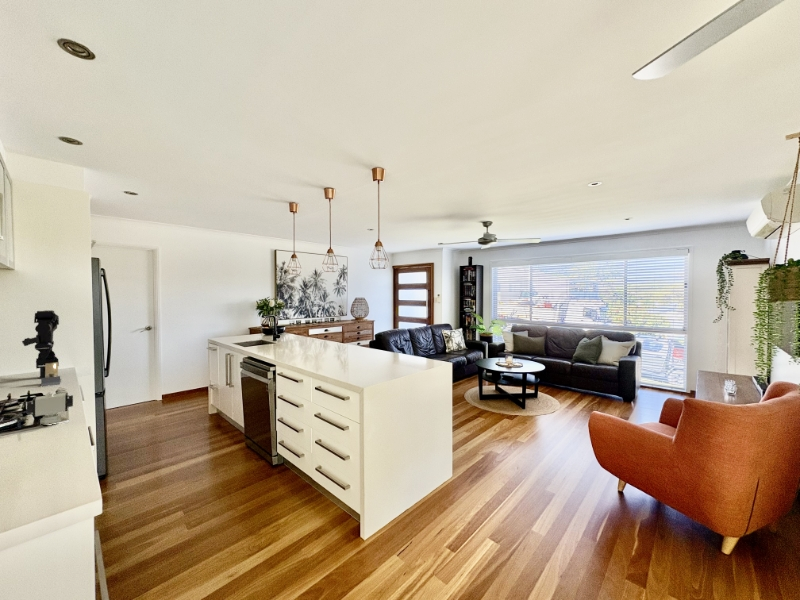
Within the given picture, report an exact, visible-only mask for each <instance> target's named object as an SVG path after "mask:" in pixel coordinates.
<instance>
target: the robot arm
mask: <svg viewBox="0 0 800 600" xmlns="http://www.w3.org/2000/svg"><path fill="white" fill-rule="evenodd" d="M33 321H34V322H33V323H34V324H37V325H36V326H35V327H34V328H35V331H36V333H37V334H36V335H35V337H31V338H30V337H27V338H26V337H25V338H24V340H22V341H21V342H22V345H23V346H24V347H27V346H30V345H33V344H35V345H34V349H35V351H38V352H39V353H38V354H37V358H36V359H35V363H36V364H35V367H36V370H37V369H39V376H38V378H40V379H41V378H45V364H46V363H54V362H58V367H59V358H58V356H56V353H55V352H54V350H53V348H54V345H55V342H54V332H55V331H56V330H57V329H58V325H60V317H59V315H58V314H56V313H55V310H37V311H36V312H34V320H33Z"/></svg>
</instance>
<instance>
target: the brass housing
mask: <svg viewBox="0 0 800 600" xmlns="http://www.w3.org/2000/svg"><path fill="white" fill-rule="evenodd" d="M44 366H45V378H46V377H55V376H59V366H58V362H54V363H46V364H45V365H44Z"/></svg>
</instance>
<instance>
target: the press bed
mask: <svg viewBox="0 0 800 600" xmlns="http://www.w3.org/2000/svg"><path fill="white" fill-rule="evenodd" d="M40 380H41V381H40V383H41V385H40V386H42V387H47V386H48V385H50V386H55V385H60V384H61V383H62V378H61V376H60V375H58V376H55V377H46V378H40Z"/></svg>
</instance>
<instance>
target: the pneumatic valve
mask: <svg viewBox="0 0 800 600" xmlns="http://www.w3.org/2000/svg"><path fill="white" fill-rule="evenodd" d="M70 407H71V408H72V407H74V395H70V394H69V393H68V392H63V393H62V392H61V393H56V394H54V393H53V392H49V393H48V395H43V396H34V397H33V399H32V400H30V401H27V403H26V414H27V415H29V414H30V415H32V417H33V418H34V417H40V416H42V418H40V421H39V424H40V426H42V425H41V424H49V423H57V422H58V423H59V422H61V421H62V414H61V415H60V414H58V413H62V412H68V410H69V409H70Z"/></svg>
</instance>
